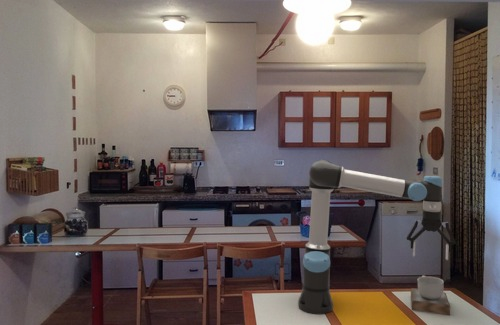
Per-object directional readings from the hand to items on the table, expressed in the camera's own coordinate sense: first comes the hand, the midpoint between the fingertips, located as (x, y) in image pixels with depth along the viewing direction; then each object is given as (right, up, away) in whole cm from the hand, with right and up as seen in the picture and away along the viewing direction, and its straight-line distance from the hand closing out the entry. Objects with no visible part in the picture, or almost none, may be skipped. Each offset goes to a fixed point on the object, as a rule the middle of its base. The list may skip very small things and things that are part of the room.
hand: (430, 257), depth 185 cm
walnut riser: (0, -22, +1) cm, 22 cm away
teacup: (0, -18, 0) cm, 18 cm away
